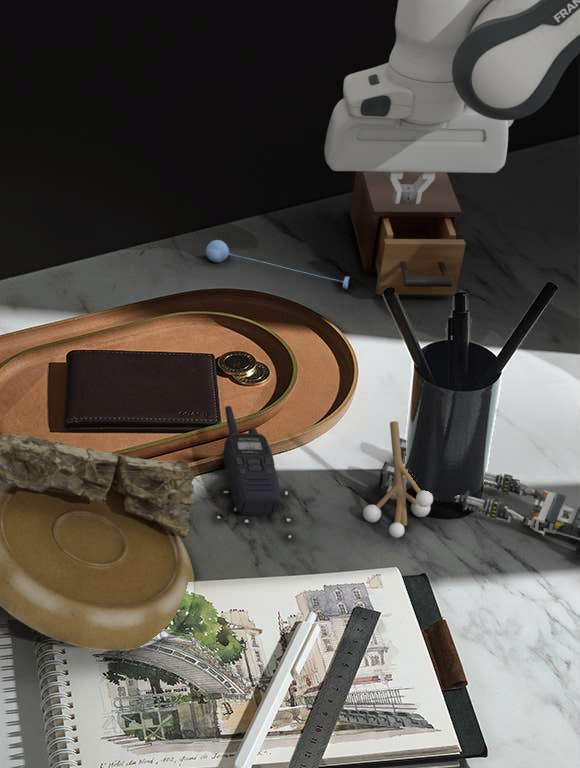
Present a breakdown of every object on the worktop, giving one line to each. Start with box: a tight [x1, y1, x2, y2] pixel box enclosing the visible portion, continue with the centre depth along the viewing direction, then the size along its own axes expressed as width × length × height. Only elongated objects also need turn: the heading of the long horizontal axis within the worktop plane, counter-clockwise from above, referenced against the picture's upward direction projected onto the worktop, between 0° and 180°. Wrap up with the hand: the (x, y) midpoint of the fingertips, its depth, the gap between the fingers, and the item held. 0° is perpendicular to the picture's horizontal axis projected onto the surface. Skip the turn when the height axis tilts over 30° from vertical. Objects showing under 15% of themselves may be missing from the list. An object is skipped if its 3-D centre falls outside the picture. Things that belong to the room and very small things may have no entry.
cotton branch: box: [362, 420, 434, 539], centre depth 136 cm, size 7×6×12 cm
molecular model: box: [205, 239, 351, 290], centre depth 173 cm, size 3×20×3 cm, turn 68°
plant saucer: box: [0, 481, 195, 652], centre depth 127 cm, size 24×24×3 cm
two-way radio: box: [222, 405, 283, 516], centre depth 142 cm, size 6×4×15 cm
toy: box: [378, 437, 580, 557], centre depth 136 cm, size 8×7×30 cm
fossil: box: [0, 433, 196, 539], centre depth 128 cm, size 22×7×10 cm
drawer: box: [373, 216, 467, 296], centre depth 170 cm, size 19×10×8 cm, turn 0°
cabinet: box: [349, 171, 463, 274], centre depth 177 cm, size 16×12×10 cm
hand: (406, 201), depth 148 cm, fingers closed
